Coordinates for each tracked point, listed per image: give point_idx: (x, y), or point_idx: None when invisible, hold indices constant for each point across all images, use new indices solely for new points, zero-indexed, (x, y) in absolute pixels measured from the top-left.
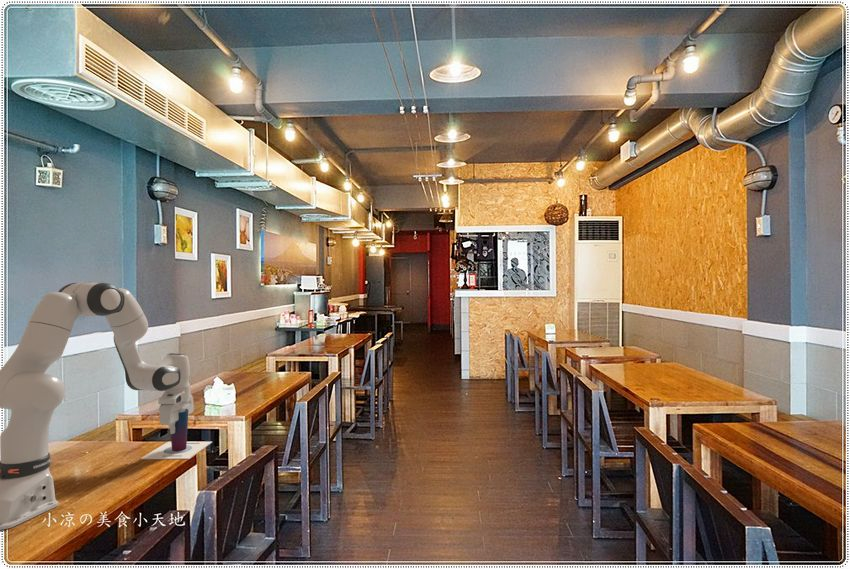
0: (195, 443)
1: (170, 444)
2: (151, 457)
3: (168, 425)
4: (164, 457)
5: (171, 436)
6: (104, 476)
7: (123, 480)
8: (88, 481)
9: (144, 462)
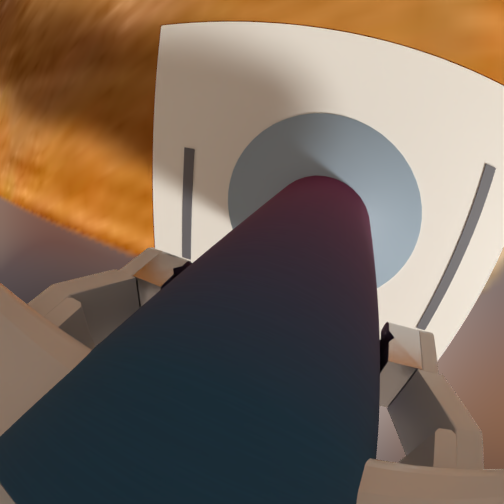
0: (428, 308)
1: (476, 134)
2: (169, 85)
3: (54, 289)
4: (165, 168)
5: (243, 221)
6: (23, 33)
7: (6, 121)
8: (7, 21)
9: (118, 82)
